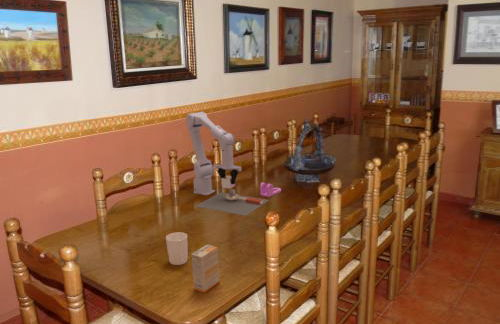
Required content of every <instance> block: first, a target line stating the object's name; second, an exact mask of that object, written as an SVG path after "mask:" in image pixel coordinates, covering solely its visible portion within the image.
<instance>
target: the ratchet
mask: <svg viewBox="0 0 500 324" xmlns="http://www.w3.org/2000/svg"><path fill="white" fill-rule="evenodd" d="M239 195H240V194H239V193H236V189H232V188H231V189H229V190H228V194H227V195H226V201H230V202H233V201H239V202H245V203H250V204H256V205H261V204H263V199H264V198H260V199H256V198H257V197H254V198H250V197H251V196H248V197H249V198H245V197H239ZM263 205H264V204H263ZM261 206H262V205H261Z"/></svg>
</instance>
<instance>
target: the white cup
mask: <svg viewBox="0 0 500 324" xmlns="http://www.w3.org/2000/svg"><path fill="white" fill-rule="evenodd" d="M165 241H166V248H167V249H166V250H167V255H168V259H169V261H168V262H169V263H170V264H171V265H173V266H180V265H184V264H186V263H187V262H188V259H189V258H188V254H189V253H188V251H189V250H188V249H189V247H188V245H189V243H188V234H187V233H185V232H180V231H179V232H178V231H176V232H172V233H168V234H167V235H166V236H165Z"/></svg>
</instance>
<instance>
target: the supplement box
mask: <svg viewBox="0 0 500 324" xmlns="http://www.w3.org/2000/svg"><path fill="white" fill-rule="evenodd" d="M218 253H219V251H218V246H217V247H216V246H213V245H210V244H206V245H204V246H202V247H201V248H199V249H197V250H195V251H194V252H192V253H190V255H191V265H192V278H193V289H194V290H196V291H198V292H201V293H206V292H207V291H209V290H211V289H212V288H213V287H215V286H216V285H218V284H219V283H220V269H219V268H220V267H219V254H218Z"/></svg>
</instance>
